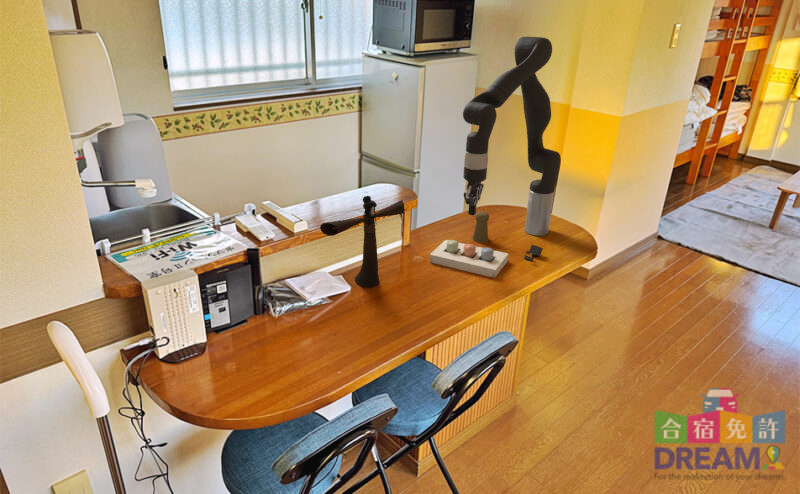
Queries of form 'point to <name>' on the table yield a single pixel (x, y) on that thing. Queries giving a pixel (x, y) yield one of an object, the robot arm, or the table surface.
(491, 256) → the slate button
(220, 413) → the table surface
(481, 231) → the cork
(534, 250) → the building blocks
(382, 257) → the table surface
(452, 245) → the pale green rounded piece
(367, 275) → the outstretched arms figurine
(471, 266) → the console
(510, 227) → the table surface
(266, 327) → the table surface
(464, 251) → the terracotta button
